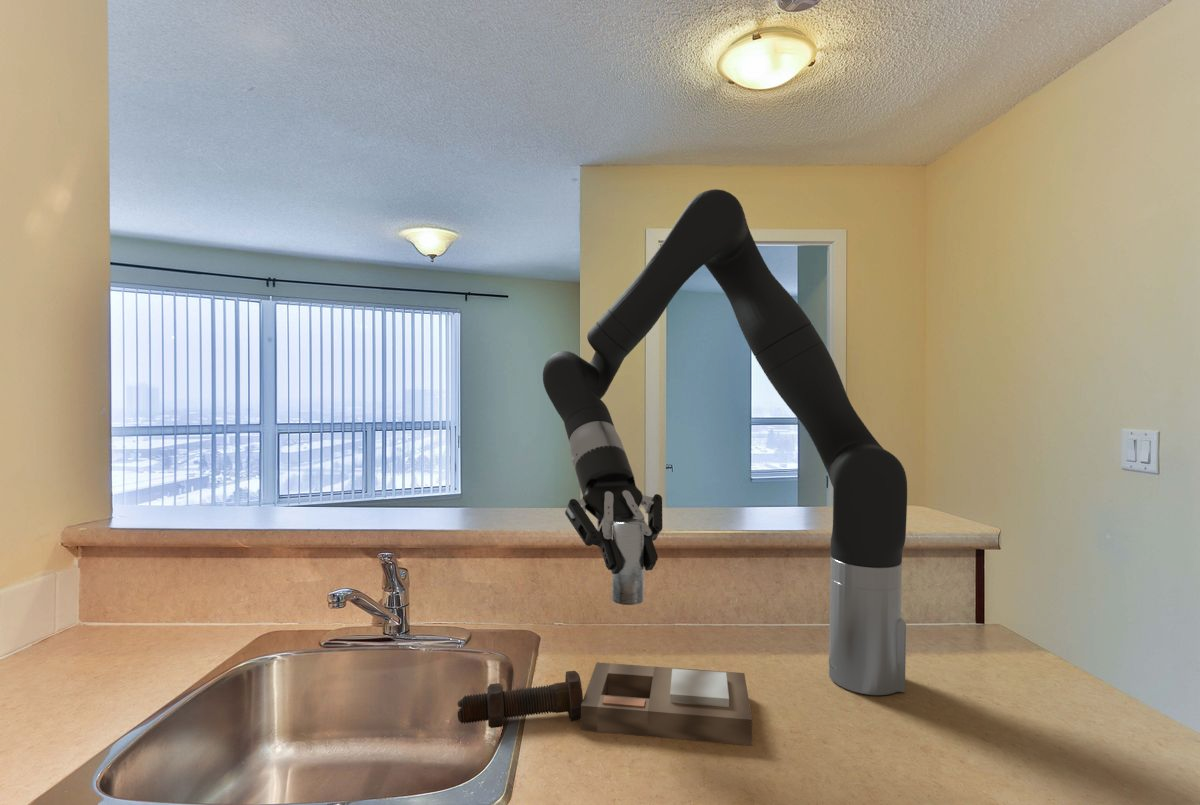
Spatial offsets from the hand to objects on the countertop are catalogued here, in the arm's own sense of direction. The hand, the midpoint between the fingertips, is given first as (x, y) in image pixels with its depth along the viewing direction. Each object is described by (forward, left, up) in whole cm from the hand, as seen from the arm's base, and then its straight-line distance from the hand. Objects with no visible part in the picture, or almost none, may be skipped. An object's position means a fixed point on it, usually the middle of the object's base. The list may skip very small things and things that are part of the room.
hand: (634, 568), depth 78 cm
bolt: (+14, +3, -19) cm, 24 cm away
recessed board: (-4, -2, -19) cm, 19 cm away
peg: (+1, -2, -5) cm, 5 cm away
